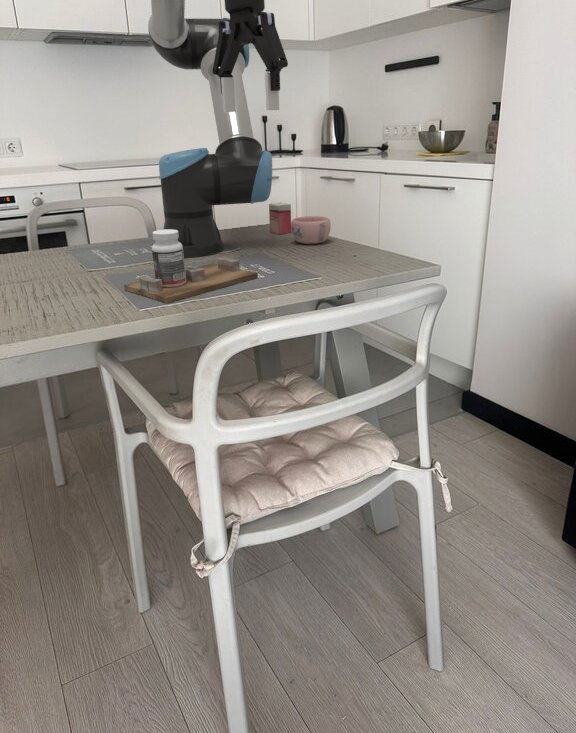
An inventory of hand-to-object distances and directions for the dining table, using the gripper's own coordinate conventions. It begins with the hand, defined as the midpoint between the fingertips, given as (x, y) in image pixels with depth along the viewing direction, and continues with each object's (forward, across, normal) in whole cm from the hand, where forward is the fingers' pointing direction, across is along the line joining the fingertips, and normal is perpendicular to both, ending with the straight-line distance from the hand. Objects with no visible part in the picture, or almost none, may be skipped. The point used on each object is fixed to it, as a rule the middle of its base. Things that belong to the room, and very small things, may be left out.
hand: (250, 111), depth 116 cm
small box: (+31, -22, +27) cm, 47 cm away
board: (+31, +4, -20) cm, 37 cm away
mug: (+31, -7, +23) cm, 39 cm away
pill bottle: (+30, +4, -25) cm, 39 cm away
